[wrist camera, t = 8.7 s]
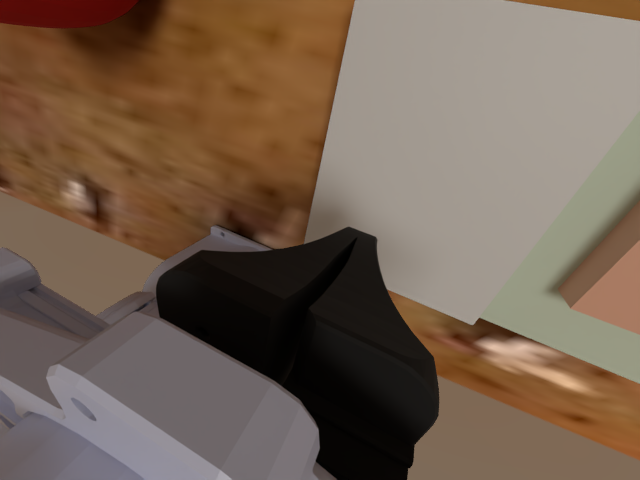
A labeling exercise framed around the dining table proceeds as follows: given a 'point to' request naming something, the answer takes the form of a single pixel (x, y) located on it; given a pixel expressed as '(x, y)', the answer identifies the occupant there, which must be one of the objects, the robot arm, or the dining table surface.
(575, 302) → the tile
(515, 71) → the deck
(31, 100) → the dining table surface
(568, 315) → the mat
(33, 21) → the ceramic cup
